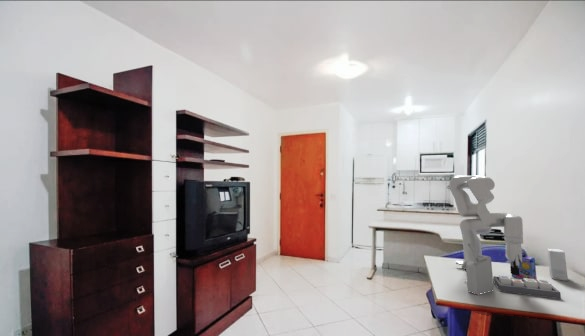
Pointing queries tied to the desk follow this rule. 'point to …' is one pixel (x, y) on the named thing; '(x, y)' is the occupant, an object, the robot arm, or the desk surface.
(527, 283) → the key olive
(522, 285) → the key terracotta
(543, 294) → the grey compartment tray
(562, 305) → the desk surface
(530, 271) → the ink cartridge box
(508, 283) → the key slate
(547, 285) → the key charcoal
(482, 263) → the fuel canister
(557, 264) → the skincare box
